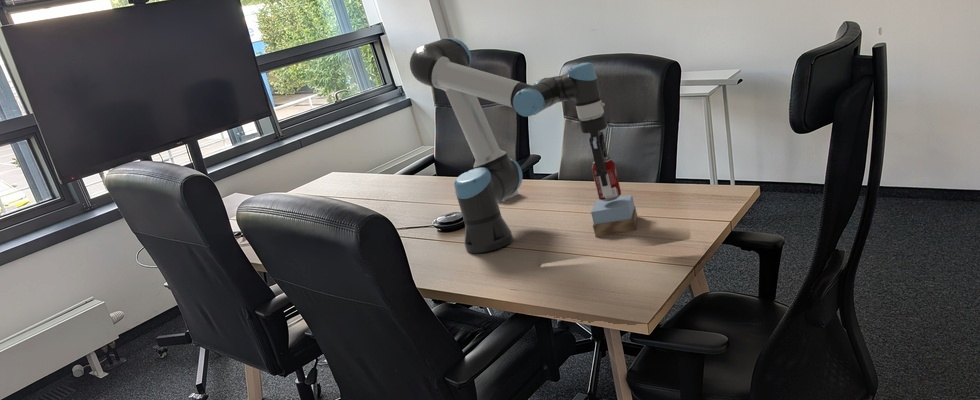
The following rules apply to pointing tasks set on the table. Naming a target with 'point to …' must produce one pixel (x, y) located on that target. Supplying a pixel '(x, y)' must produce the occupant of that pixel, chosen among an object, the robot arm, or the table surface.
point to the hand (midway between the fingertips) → (608, 192)
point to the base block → (616, 226)
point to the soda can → (612, 178)
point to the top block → (613, 210)
